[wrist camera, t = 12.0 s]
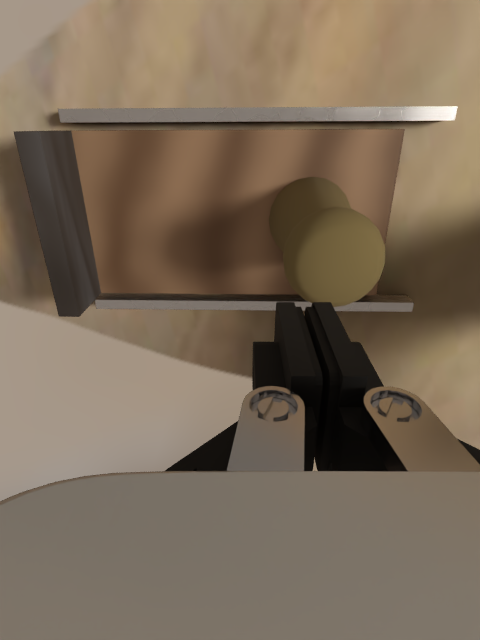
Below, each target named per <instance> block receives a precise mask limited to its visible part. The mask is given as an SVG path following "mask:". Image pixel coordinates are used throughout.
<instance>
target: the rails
mask: <svg viewBox="0 0 480 640" xmlns="http://www.w3.org/2000/svg"><path fill="white" fill-rule="evenodd" d="M457 107H458V106H428V107H272V108H116V109H58V112H59V117H60V122H61V123H109V122H299V121H452V120H455V116H456V111H457ZM277 302H294V303H295V306H296V307H301V308H302V311H305V308H306V307H311V305H312V303H311V302H309V301H306V300H304V299H303V298H302V297H301V296H300V295H285V294H171V293H101V294H100V295H99V296H98V297H97V298H96V299H95V304H96V309H184V310H276V303H277ZM413 305H414V302H413V301H412V300H411V299H410V298H409V297H408V296H407V295H365V296H363V297H362V298H361V299H360V300H357V301H355V302H353V303H350V304H348V305H346V306H339V307H334V309H335V311H384V312H412V309H413Z"/></svg>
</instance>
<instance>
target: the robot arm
mask: <svg viewBox="0 0 480 640" xmlns="http://www.w3.org/2000/svg"><path fill="white" fill-rule="evenodd" d="M314 457H315V462H316V466H317V470H318V471H312V470H313V464H314ZM0 640H480V450H479V449H477V448H475V447H473V446H471V445H469V444H467V443H465V442H463V441H461V440H459V439H457V438H456V437H455V436H454V435H453V434H452V433H451V432H450V431H449V429H448V428H447V427H446V426H445V425H444V424H443V423H442V422H441V420H440V419H439V418H438V417H437V416H436V415H435V414H434V413H433V411H432V410H431V409H430V408H429V407H428V406H427V405H426V404H425V402H423V401H422V400H421V399H420V398H419V397H418V396H416V395H414V394H412V393H411V392H409V391H406V390H403V389H400V388H395V387H384V386H383V384H382V382H381V380H380V378H379V377H378V375H377V373H376V371H375V369H374V367H373V365H372V364H371V362H370V360H369V358H368V356H367V354H366V353H365V351H364V349H363V347H362V345H361V344H360V343H359V342H351V341H350V339H349V337H348V335H347V333H346V331H345V329H344V327H343V325H342V323H341V321H340V319H339V317H338V315H337V313H336V311H335V309H334V307H333V305H332V303H331V302H313V303H312V305H311V307H306V308H305V316H304V314H303V311H302V308H301V307H296V306H295V303H294V302H277V303H276V314H275V337H274V342H253V391H251V392H250V393H249V394H247V395H246V397H245V398H244V401H243V403H242V408H241V412H240V416H239V420H238V421H237V422H236V423H234V424H233V425H231V426H230V427H228V428H227V429H226V430H224V431H223V432H221V433H220V434H218V435H217V436H216V437H214V438H212V439H211V440H209V441H208V442H206V443H205V444H203V445H202V446H200V447H199V448H198V449H196V450H195V451H193V452H192V453H190V454H189V455H187V456H186V457H184V458H183V459H181V460H180V461H178V462H177V463H175V464H174V465H172V466H171V467H170V468H168V469H167V470H166V471H163V472H131V473H110V474H100V475H92V476H84V477H79V478H73V479H68V480H63V481H58V482H54V483H50V484H47V485H44V486H41V487H37V488H34V489H31V490H28V491H25V492H22V493H19V494H17V495H14V496H12V497H9V498H7V499H5V500H2V501H0Z"/></svg>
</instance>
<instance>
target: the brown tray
mask: <svg viewBox="0 0 480 640" xmlns="http://www.w3.org/2000/svg"><path fill="white" fill-rule="evenodd" d="M404 130H405V129H309V130H93V131H19V132H14V135H15V139H16V143H17V147H18V152H19V156H20V160H21V164H22V168H23V172H24V176H25V180H26V184H27V188H28V192H29V196H30V200H31V205H32V209H33V213H34V217H35V221H36V225H37V229H38V233H39V237H40V241H41V245H42V249H43V253H44V258H45V262H46V266H47V270H48V274H49V278H50V282H51V286H52V290H53V294H54V298H55V302H56V306H57V311H58V315H59V316H71V317H79V316H80V315H81V314H82V313H83V312H84V311H85V310H86V309H87V308H88V307H89V306H90V304H91V303H92V302H93V301H94V300H95V299H96V298H97V297H98V296H99V295H100V294H101V293H171V294H285V295H299V294H298V293H297V292H296V291H295V290H294V289H293V288H292V287H291V286H290V284H289V281H288V279H287V277H286V275H285V271H284V263H283V252H282V251H281V249H280V248H279V247H278V246H277V244H276V243H275V241H274V239H273V237H272V235H271V233H270V225H269V216H270V211H271V206H272V204H273V203H274V201H275V199H276V197H277V195H278V194H279V193H280V192H281V191H282V190H283V189H284V188H285V187H286V186H287V185H289V184H291V183H292V182H294V181H296V180H298V179H301V178H307V177H319V178H325V179H327V180H329V181H331V182H333V183H335V184H336V185H338V186H339V188H340V189H341V190H342V191H343V192H344V193H345V194H346V197H347V199H348V201H349V204H350V206H351V208H352V209H353V210H355V211H357V212H359V213H361V214H363V215H364V216H366V217H368V218H369V219H370V220H371V221H372V223H373V224H374V225H375V226H376V227H377V228H378V229H379V231H380V234H381V237H382V239H383V242H384V245H385V241H386V235H387V230H388V224H389V218H390V212H391V206H392V200H393V195H394V189H395V183H396V177H397V171H398V165H399V160H400V154H401V148H402V142H403V136H404ZM378 282H379V280H378V281H377V283H376V284H375V286H374V287H373V288H372V290H371V291H369V292H368V293H367V294H366V295H376V294H377V288H378Z"/></svg>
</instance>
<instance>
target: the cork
mask: <svg viewBox="0 0 480 640" xmlns="http://www.w3.org/2000/svg"><path fill="white" fill-rule="evenodd" d="M269 225H270V233H271V235H272V237H273V239H274V241H275V243H276V244H277V246H278V247H279V248H280V249H281V251H282V252H283V263H284V271H285V275H286V277H287V279H288V281H289V284H290V286H291V287H292V288H293V289H294V290H295V291H296V292H297V293H298V294H299V295H300V296H301V297H302V298H303V299H304V300H306V301H309V302H311V303H313V302H331V303H332V305H333V307H339V306H346V305H348V304H350V303H353V302H355V301H357V300H360V299H361V298H362V297H363V296H365V295H366V294H367V293H368V292H369V291H371V290H372V288H373V287H374V286H375V284H376V283H377V281H378V280H379V279H380V277H381V274H382V271H383V268H384V265H385V245H384V242H383V239H382V237H381V234H380V231H379V229H378V228H377V227H376V226H375V225H374V224H373V223H372V221H371V220H370V219H369V218H368V217H366V216H364V215H363V214H361V213H359V212H357V211H355V210H353V209H352V208H351V206H350V204H349V201H348V199H347V197H346V194H345V193H344V192H343V191H342V190H341V189H340V188H339V186H338V185H336V184H335V183H333V182H331V181H329V180H327V179H325V178H319V177H307V178H301V179H298V180H296V181H294V182H292V183H291V184H289V185H287V186H286V187H285V188H284V189H283V190H282V191H281V192H280V193H279V194H278V195H277V197H276V199H275V201H274V203H273V204H272V206H271V211H270V216H269Z"/></svg>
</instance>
